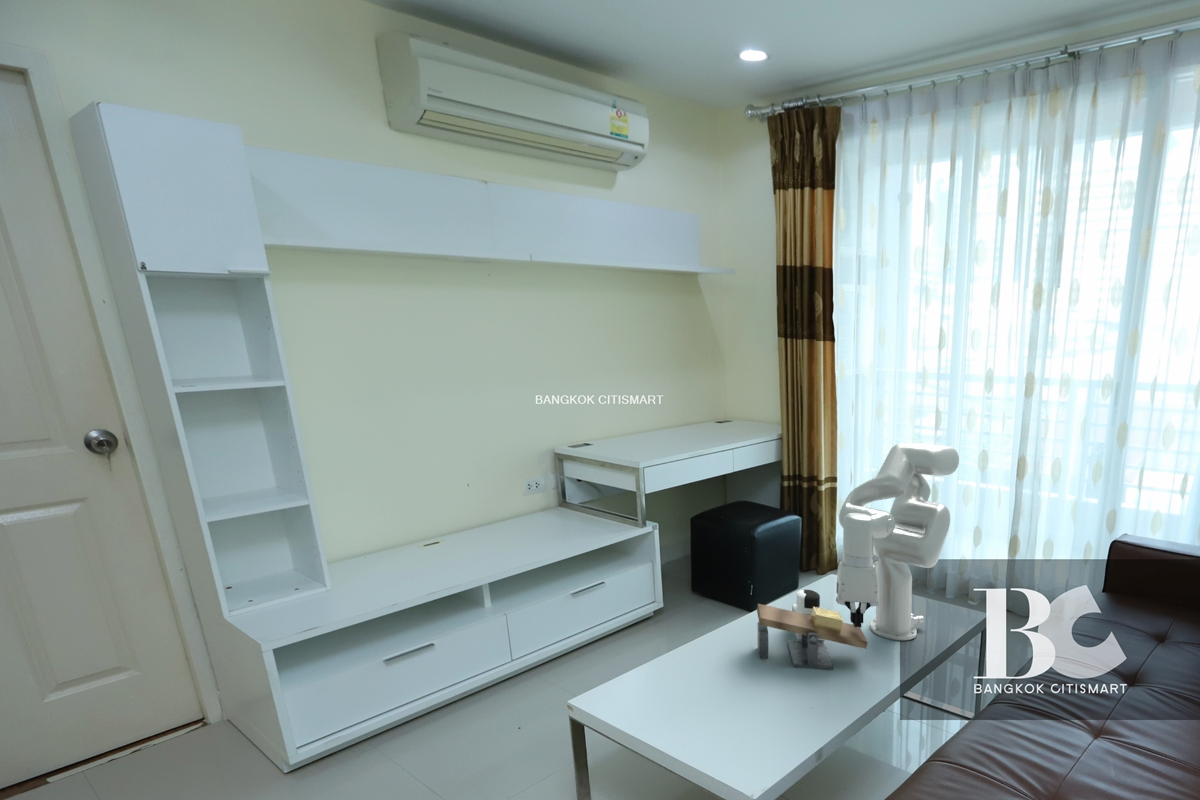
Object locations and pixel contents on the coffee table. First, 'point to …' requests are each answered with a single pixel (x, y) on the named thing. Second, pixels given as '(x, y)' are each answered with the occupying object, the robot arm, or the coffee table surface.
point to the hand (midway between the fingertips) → (856, 624)
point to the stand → (799, 650)
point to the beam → (808, 626)
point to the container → (806, 604)
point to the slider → (826, 619)
